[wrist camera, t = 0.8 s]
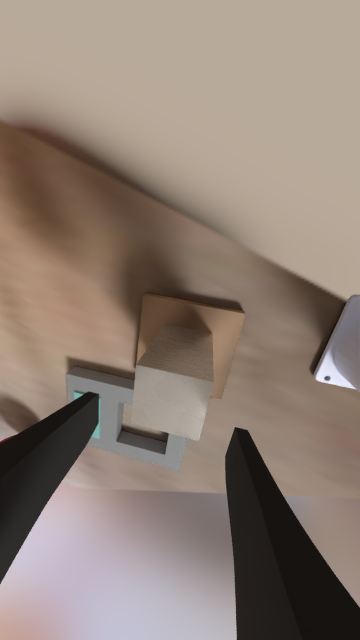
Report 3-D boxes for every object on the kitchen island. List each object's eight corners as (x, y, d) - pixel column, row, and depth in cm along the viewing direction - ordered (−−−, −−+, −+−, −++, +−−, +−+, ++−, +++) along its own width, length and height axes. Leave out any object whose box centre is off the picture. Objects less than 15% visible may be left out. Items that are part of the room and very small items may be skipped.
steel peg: (212, 333, 17) (213, 382, 10) (203, 374, 18) (198, 440, 12) (164, 323, 17) (135, 364, 11) (159, 364, 19) (130, 423, 12)
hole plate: (195, 394, 20) (194, 406, 19) (181, 458, 24) (179, 472, 22) (75, 366, 22) (64, 374, 20) (77, 430, 25) (68, 442, 23)
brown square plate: (243, 310, 17) (245, 314, 16) (220, 392, 20) (221, 399, 19) (146, 292, 18) (142, 294, 17) (138, 373, 20) (135, 378, 20)
